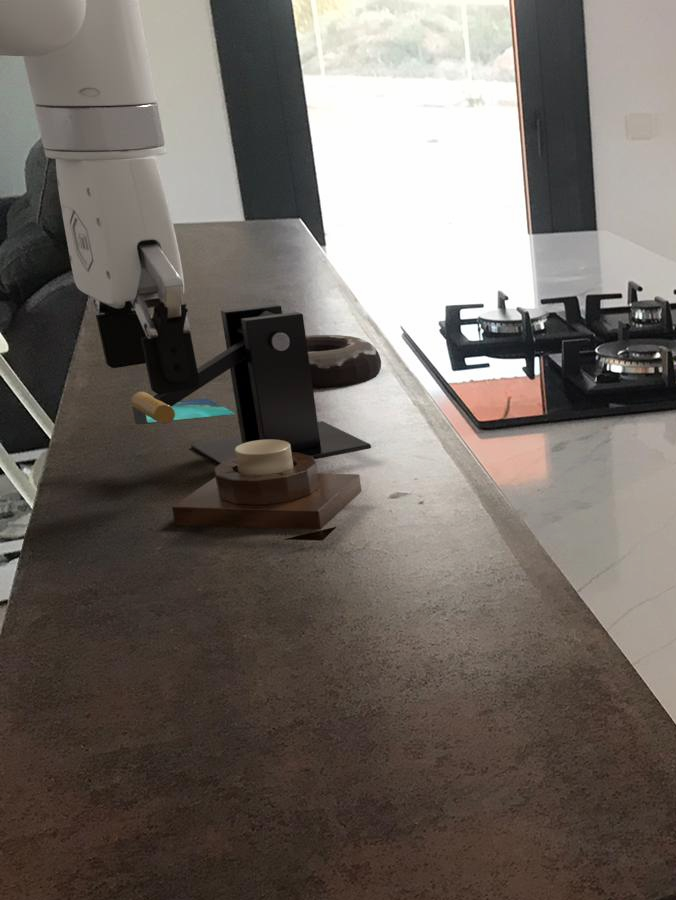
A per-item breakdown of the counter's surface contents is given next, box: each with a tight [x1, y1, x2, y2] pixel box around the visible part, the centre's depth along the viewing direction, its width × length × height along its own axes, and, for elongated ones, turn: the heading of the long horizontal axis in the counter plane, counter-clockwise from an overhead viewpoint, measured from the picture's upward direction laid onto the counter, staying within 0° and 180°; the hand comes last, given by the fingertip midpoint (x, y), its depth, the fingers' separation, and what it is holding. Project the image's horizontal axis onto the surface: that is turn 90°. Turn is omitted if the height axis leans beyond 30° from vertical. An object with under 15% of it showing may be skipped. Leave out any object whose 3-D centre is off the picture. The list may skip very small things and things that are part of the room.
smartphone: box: [132, 398, 237, 425], centre depth 115 cm, size 7×1×15 cm
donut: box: [306, 334, 382, 390], centre depth 125 cm, size 12×12×4 cm
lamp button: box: [235, 439, 294, 475], centre depth 89 cm, size 4×4×2 cm
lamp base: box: [171, 452, 362, 542], centre depth 90 cm, size 10×8×4 cm
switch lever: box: [131, 311, 276, 425], centre depth 98 cm, size 12×5×2 cm, turn 132°
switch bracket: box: [190, 303, 372, 466], centre depth 101 cm, size 11×9×12 cm
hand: (152, 377), depth 95 cm, fingers open, 9 cm apart
